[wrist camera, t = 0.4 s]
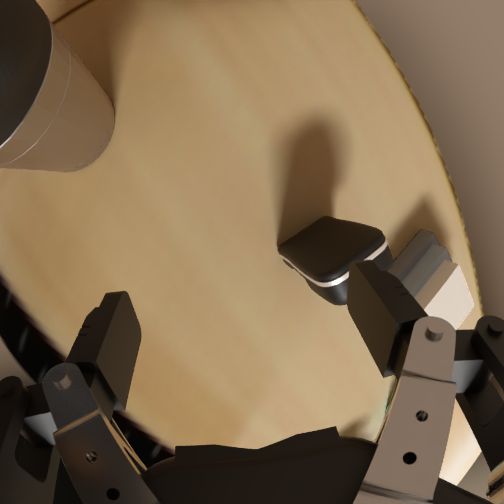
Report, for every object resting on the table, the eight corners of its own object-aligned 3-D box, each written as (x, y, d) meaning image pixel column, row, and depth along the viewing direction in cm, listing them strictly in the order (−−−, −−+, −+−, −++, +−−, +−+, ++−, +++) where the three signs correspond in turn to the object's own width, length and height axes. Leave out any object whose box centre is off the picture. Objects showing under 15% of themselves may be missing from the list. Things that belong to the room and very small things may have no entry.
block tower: (362, 296, 37) (398, 320, 30) (420, 229, 37) (462, 240, 30) (400, 347, 40) (432, 371, 33) (449, 287, 41) (485, 302, 34)
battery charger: (290, 277, 34) (341, 320, 23) (273, 248, 33) (320, 281, 22) (341, 242, 34) (406, 268, 24) (326, 212, 33) (392, 228, 22)
